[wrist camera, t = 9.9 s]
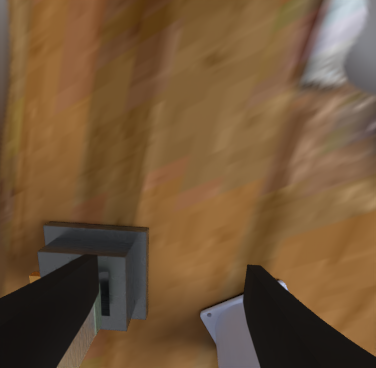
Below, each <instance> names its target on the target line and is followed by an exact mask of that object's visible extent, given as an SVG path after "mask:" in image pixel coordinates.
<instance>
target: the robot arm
mask: <svg viewBox="0 0 376 368" xmlns="http://www.w3.org/2000/svg"><path fill="white" fill-rule="evenodd" d="M98 294H99V274H98V256H97V255H91V254H84V255H82V256H80V257H78V258H76V259H74V260H72V261H70V262H69V263H67V264H65V265H63V266H61V267H60V268H58V269H56V270H54V271H52V272H51V273H49V274H47V275H45V276H43V277H41V278H40V279H38V280H36V281H34V282H32V283H30V284H28V285H26V286H24V287H22V288H20V289H18V290H16V291H14V292H12V293H10V294H8V295H6V296H4V297H2V298H0V368H57V366H58V364H59V363H60V361H61V360H62V358H63V356H64V355H65V353H66V351H67V350H68V348H69V346H70V345H71V343H72V341H73V340H74V338H75V337H76V335H77V333H78V332H79V330H80V328H81V327H82V325H83V323H84V322H85V320H86V318H87V317H88V315H89V313H90V311H91V309H92V307H93V305H94V303H95V300H96V298H97V296H98ZM208 313H211V314H208ZM200 317H201V319H202V321H203V323H204V324H205V326H206V328H207V330H208V331H209V333H210V335H211V336H212V338H213V340H214V341H215V343H216V345H217V355H218V366H219V368H376V357H375V356H374V355H372V354H370V353H369V352H367V351H366V350H364V349H363V348H361V347H360V346H358V345H357V344H355V343H354V342H352V341H351V340H349V339H348V338H346V337H345V336H344V335H342V334H341V333H340V332H338V331H337V330H335V329H334V328H333V327H331V326H330V325H329V324H327V323H326V322H325V321H323V320H322V319H321V318H319V317H318V316H317V315H316V314H314V313H313V312H312V311H311V310H310V309H308V308H307V307H306V306H305V305H303V304H302V303H301V302H300V301H299V300H298V299H296V298H295V297H294V296H293V295H292V294H291V293H290V292H289V291H288V289H287V287H286V285H285V283H284V282H283V281H277V280H276V279H275V278H273V277H272V276H271V275H270V274H269V273H268V272H267V271H266V270H265V269H264V268H263V267H262V266H260V265H247V271H246V279H245V287H244V294H243V295H241V296H238V297H236V298H233V299H231V300H228V301H226V302H223V303H221V304H218V305H216V306H213V307H211V308H208V309H205V310H203V311H201V313H200Z"/></svg>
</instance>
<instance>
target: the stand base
mask: <svg viewBox="0 0 376 368" xmlns="http://www.w3.org/2000/svg"><path fill="white" fill-rule="evenodd" d="M43 228H44V237H45V247H43V248H42V249H40V250H39V251H38V252H37V253H38V261H39V269H40V272H33V273H32V274H31V275H30V276H29V279H30V283H32V282H34V281H36V280H38V279H40V278H41V277H43V276H45V275H47V274H49V273H51V272H52V271H54V270H56V269H58V268H60V267H61V266H63V265H65V264H67V263H69V262H70V261H72V260H74V259H76V258H78V257H80V256H82V255H84V254H91V255H97V256H98V274H99V283H100V295H101V315H102V325H101V327H100V329H106V330H119V331H127V328H128V326H129V323H130V320H131V319H143V320H146V317H147V313H148V244H149V228H143V227H127V226H111V225H96V224H80V223H65V222H49V223H47V224H45V225H44V226H43Z"/></svg>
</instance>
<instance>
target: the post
mask: <svg viewBox="0 0 376 368" xmlns="http://www.w3.org/2000/svg"><path fill="white" fill-rule="evenodd" d="M101 325H102V315H101V295H100V283H99V294H98V296H97V298H96V300H95V303H94V305H93V307H92V309H91V311H90V313H89V315H88V317H87V318H86V320H85V322H84V323H83V325H82V327H81V328H80V330H79V332H78V333H77V335H76V337H75V338H74V340H73V341H72V343H71V345H70V346H69V348H68V350H67V351H66V353H65V355H64V356H63V358H62V360H61V361H60V363H59V364H58V366H57V368H79V367H80V365H81V363H82V361H83V359H84V357H85V355H86V353H87V351H88V349H89V347H90V345H91V343H92V341H93V339H94V337H95V335H97V333H98V331H99V329H100V327H101Z"/></svg>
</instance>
